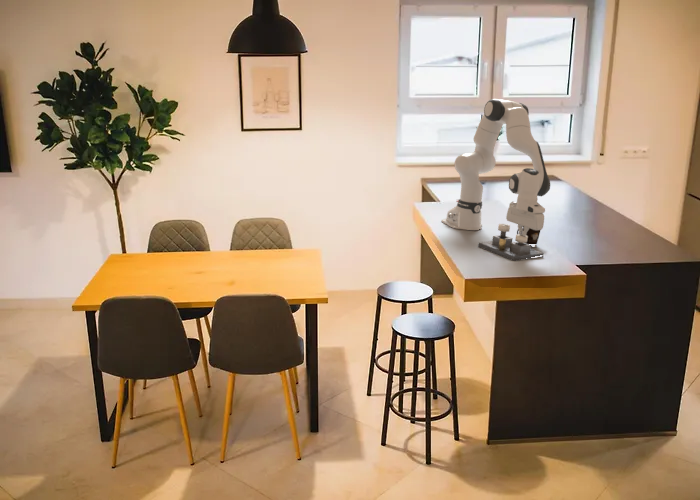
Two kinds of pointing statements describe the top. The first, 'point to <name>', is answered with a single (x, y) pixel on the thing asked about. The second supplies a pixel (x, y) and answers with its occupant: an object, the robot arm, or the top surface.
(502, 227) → the knob
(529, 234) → the coffee mug
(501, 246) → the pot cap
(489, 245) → the mount plate
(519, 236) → the knob
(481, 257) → the top surface
